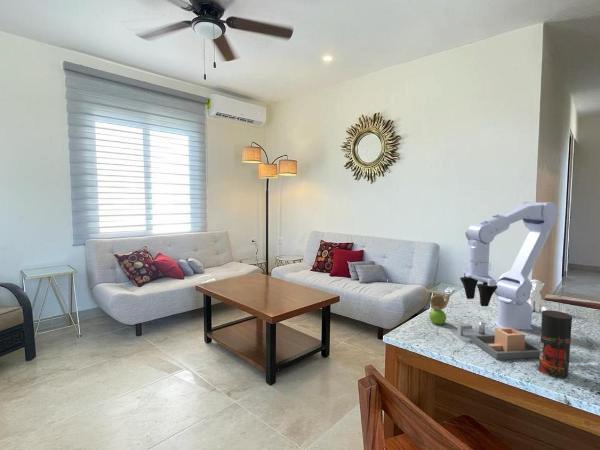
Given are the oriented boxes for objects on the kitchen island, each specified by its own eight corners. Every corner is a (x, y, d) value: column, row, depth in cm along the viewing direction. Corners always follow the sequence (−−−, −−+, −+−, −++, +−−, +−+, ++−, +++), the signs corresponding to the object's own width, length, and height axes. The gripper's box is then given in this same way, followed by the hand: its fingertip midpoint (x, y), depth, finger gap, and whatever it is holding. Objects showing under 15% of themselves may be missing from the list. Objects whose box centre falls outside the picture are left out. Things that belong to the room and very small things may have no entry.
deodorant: (533, 366, 88) (536, 310, 86) (554, 365, 88) (557, 309, 87) (551, 378, 82) (555, 319, 80) (574, 377, 82) (578, 318, 81)
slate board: (487, 329, 112) (487, 327, 112) (506, 340, 103) (506, 338, 103) (447, 330, 111) (447, 329, 111) (462, 342, 102) (462, 340, 102)
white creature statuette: (519, 311, 130) (521, 280, 129) (517, 304, 137) (519, 276, 136) (549, 315, 125) (551, 283, 124) (546, 308, 133) (547, 278, 132)
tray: (513, 341, 103) (513, 333, 103) (543, 359, 91) (544, 351, 91) (470, 343, 102) (471, 335, 101) (496, 361, 90) (496, 353, 90)
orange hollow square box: (510, 343, 99) (511, 327, 99) (524, 351, 94) (525, 334, 94) (483, 345, 98) (484, 328, 98) (495, 353, 93) (496, 335, 93)
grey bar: (482, 332, 108) (482, 321, 108) (486, 334, 106) (486, 323, 106) (457, 333, 108) (457, 322, 107) (460, 335, 106) (460, 324, 105)
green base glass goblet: (450, 328, 113) (451, 293, 112) (430, 326, 114) (431, 292, 113) (447, 322, 118) (448, 289, 117) (427, 321, 120) (428, 288, 119)
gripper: (454, 257, 115) (453, 295, 116) (480, 265, 101) (479, 310, 102) (474, 256, 116) (472, 295, 117) (503, 265, 101) (501, 309, 102)
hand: (477, 302), depth 109 cm, fingers open, 7 cm apart
